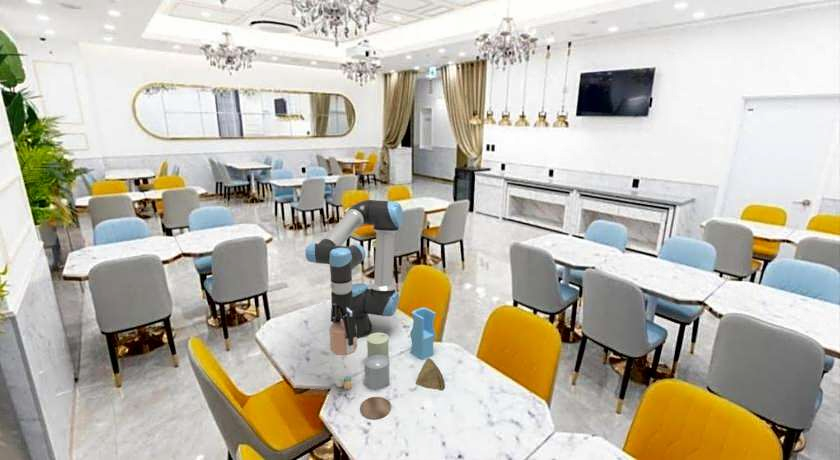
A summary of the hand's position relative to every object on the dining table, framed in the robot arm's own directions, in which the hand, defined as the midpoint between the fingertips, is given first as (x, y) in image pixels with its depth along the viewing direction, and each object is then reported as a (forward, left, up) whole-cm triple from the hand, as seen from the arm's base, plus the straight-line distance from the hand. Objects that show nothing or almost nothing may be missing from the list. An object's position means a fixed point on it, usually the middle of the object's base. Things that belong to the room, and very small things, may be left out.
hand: (344, 346), depth 149 cm
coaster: (-2, +17, -18) cm, 25 cm away
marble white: (+2, -2, -18) cm, 18 cm away
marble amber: (0, +1, -18) cm, 18 cm away
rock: (-26, +20, -18) cm, 38 cm away
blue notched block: (-38, +1, -18) cm, 42 cm away
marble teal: (-2, -2, -18) cm, 18 cm away
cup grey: (-11, +5, -18) cm, 22 cm away
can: (-19, -6, -18) cm, 27 cm away
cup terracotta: (0, 0, -1) cm, 1 cm away
